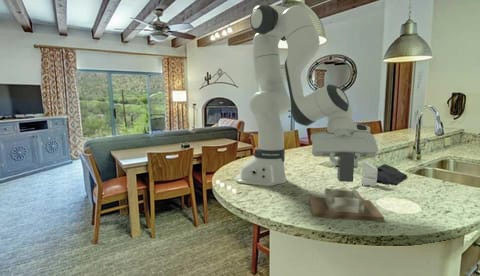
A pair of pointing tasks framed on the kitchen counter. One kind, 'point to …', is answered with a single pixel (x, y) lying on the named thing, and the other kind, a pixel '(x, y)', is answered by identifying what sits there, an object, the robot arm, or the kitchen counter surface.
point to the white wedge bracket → (369, 174)
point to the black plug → (345, 167)
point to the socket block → (344, 206)
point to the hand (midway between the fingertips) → (345, 166)
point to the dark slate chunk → (389, 175)
